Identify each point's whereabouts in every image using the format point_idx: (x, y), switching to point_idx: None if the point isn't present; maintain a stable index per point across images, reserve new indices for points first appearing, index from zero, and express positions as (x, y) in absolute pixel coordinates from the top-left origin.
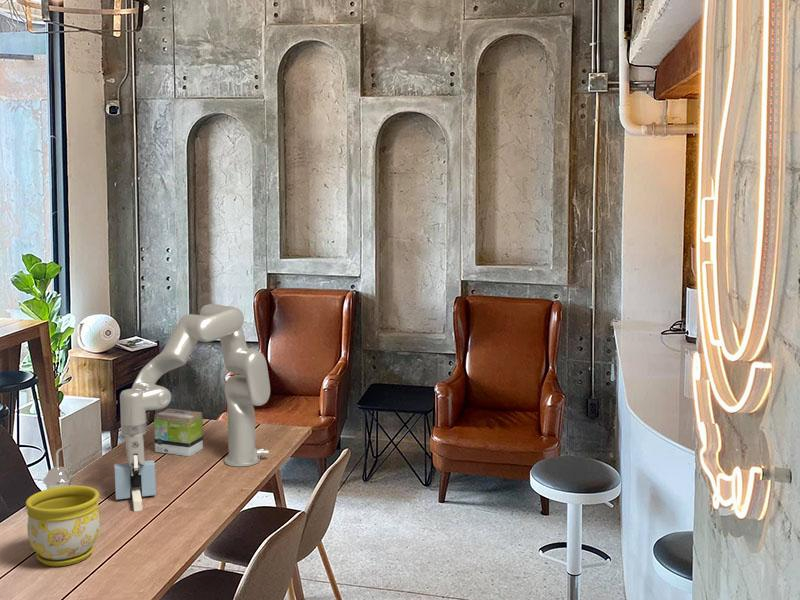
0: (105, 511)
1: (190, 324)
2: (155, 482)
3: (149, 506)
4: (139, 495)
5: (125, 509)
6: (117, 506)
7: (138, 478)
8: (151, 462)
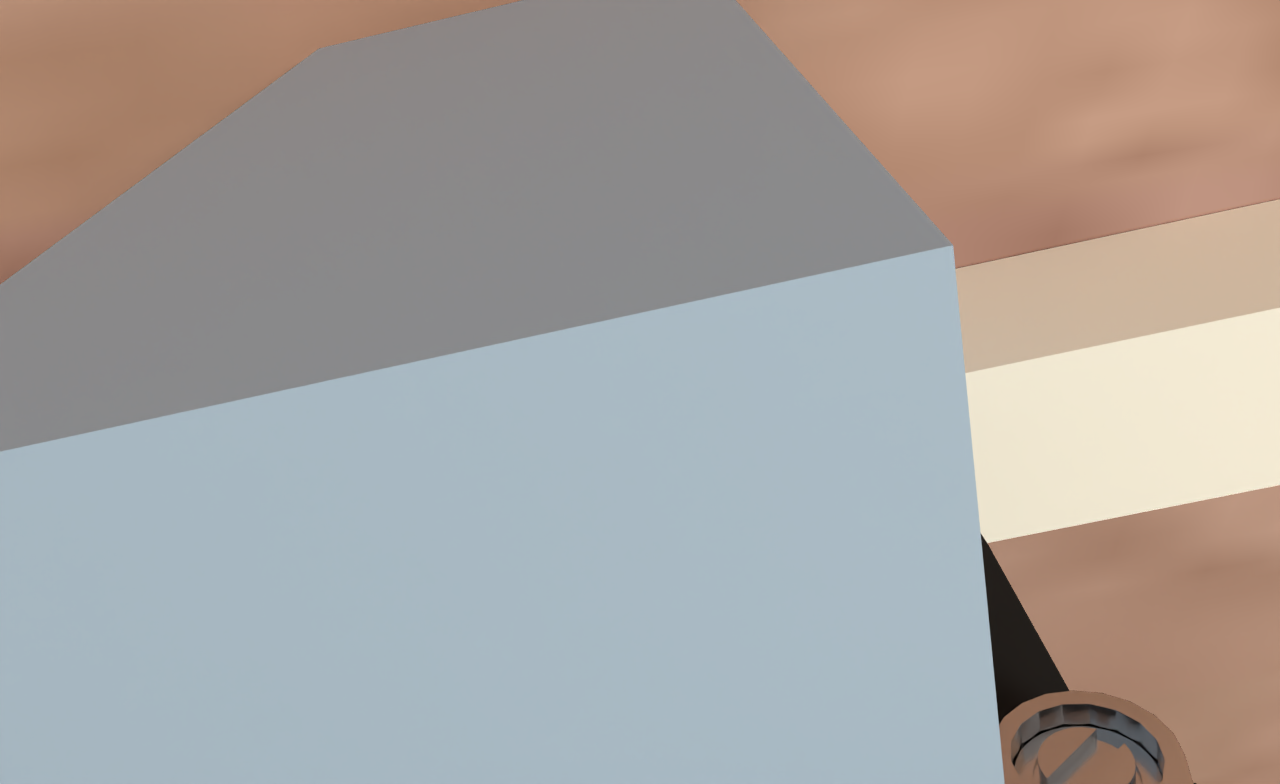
0: (1226, 766)
1: None
2: (736, 8)
3: (1269, 29)
4: (1197, 358)
5: (1257, 492)
6: (1047, 643)
7: (1047, 662)
8: (338, 599)
